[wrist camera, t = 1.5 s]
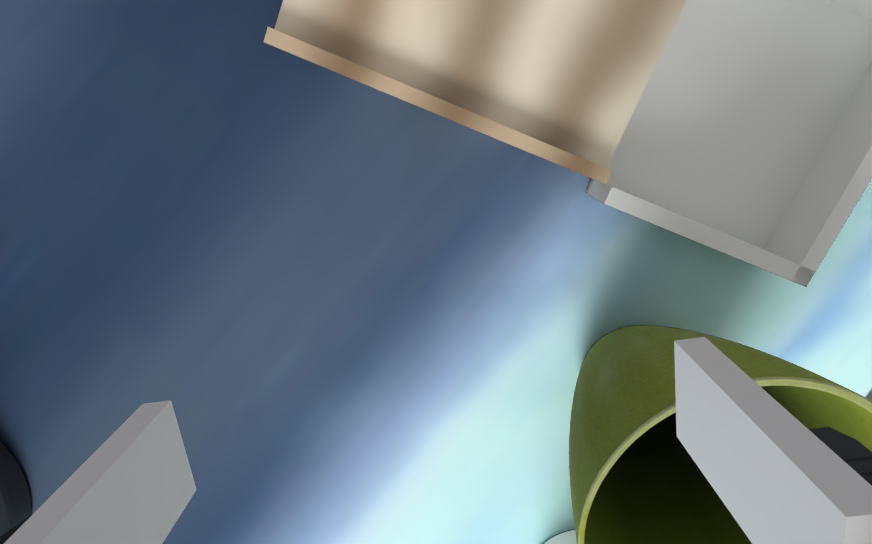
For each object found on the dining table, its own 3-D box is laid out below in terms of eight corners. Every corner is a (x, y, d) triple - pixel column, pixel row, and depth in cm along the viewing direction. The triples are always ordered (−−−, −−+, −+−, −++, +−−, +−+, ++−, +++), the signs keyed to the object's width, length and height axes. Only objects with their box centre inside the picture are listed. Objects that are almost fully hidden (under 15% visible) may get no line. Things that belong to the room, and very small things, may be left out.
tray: (585, 192, 37) (603, 203, 33) (709, -72, 33) (750, -98, 29) (765, 266, 39) (806, 287, 34) (906, 20, 34) (973, 9, 30)
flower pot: (722, 239, 38) (911, 331, 23) (763, 433, 42) (949, 624, 27) (500, 309, 40) (537, 440, 24) (559, 490, 43) (624, 703, 28)
